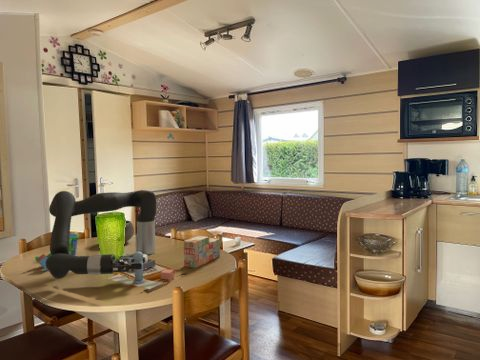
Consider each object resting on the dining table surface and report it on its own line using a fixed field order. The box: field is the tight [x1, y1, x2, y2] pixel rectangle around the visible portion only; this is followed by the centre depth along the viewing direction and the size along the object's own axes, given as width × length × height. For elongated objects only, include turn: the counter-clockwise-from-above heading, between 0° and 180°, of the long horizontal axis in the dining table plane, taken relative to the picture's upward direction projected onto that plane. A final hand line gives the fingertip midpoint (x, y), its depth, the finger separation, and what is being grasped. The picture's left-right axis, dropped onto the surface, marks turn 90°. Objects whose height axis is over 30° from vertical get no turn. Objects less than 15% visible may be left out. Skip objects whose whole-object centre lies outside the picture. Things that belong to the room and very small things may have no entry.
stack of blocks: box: [183, 235, 221, 269], centre depth 182 cm, size 21×6×12 cm, turn 150°
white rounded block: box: [143, 254, 149, 263], centre depth 169 cm, size 6×6×5 cm
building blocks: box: [34, 252, 51, 271], centre depth 175 cm, size 8×8×12 cm
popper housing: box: [131, 258, 156, 269], centre depth 170 cm, size 9×9×4 cm
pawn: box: [132, 251, 146, 285], centre depth 149 cm, size 4×4×12 cm
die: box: [160, 268, 175, 283], centre depth 155 cm, size 4×4×4 cm
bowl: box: [125, 220, 135, 243], centre depth 221 cm, size 18×18×13 cm
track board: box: [107, 273, 164, 293], centre depth 151 cm, size 24×8×1 cm, turn 60°
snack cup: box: [69, 233, 80, 256], centre depth 195 cm, size 16×10×10 cm
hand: (143, 262), depth 149 cm, fingers open, 8 cm apart
